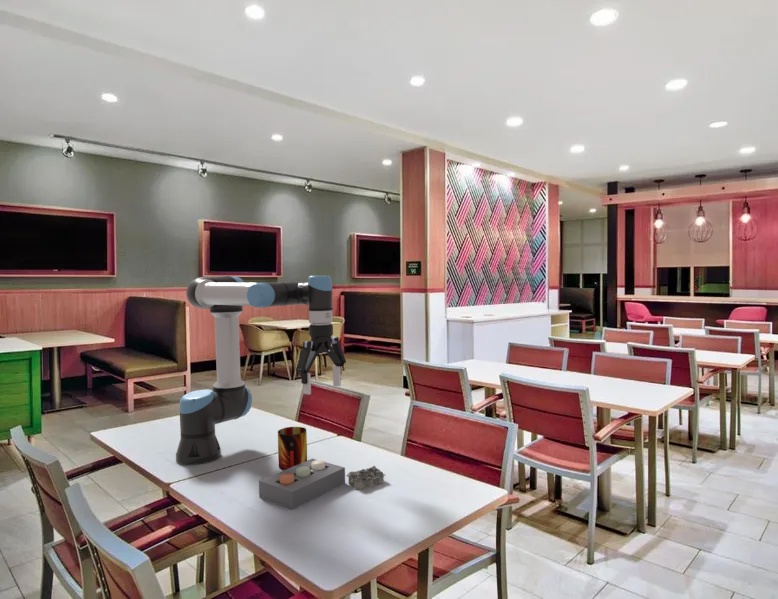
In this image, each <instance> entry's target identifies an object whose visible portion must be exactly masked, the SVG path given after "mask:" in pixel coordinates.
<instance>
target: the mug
mask: <svg viewBox="0 0 778 599" xmlns="http://www.w3.org/2000/svg"><path fill="white" fill-rule="evenodd" d="M307 435H308V433H307V428H305V427H303V426H286V427H284V428H280V429H279V430H277V450H278V451H277V452H278V454H277V456H278V460H277V461H278V468H279V470H282V471H284V470H286V469H288V468H291V467H293V466H296V465H298V464H301V463H303V462H305V461H308V440H307V439H308V438H307Z"/></svg>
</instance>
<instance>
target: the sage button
mask: <svg viewBox="0 0 778 599" xmlns="http://www.w3.org/2000/svg"><path fill="white" fill-rule="evenodd" d="M296 476H297V477H300V478H305V477H307V476H310V468H309V467H306V466H303V467H298V468H297V469H296Z"/></svg>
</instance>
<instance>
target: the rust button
mask: <svg viewBox="0 0 778 599" xmlns="http://www.w3.org/2000/svg"><path fill="white" fill-rule="evenodd" d="M279 477H280V484H282V485H286V486H287V485H289V484H292V483H294V474H292V473H285V474H282V475H280V476H279Z"/></svg>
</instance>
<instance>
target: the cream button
mask: <svg viewBox="0 0 778 599" xmlns="http://www.w3.org/2000/svg"><path fill="white" fill-rule="evenodd" d="M325 462H326V460H322V459H316V461H313V462H312V463H311V468H312V470H315V471H321V470H323V469H325Z"/></svg>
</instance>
